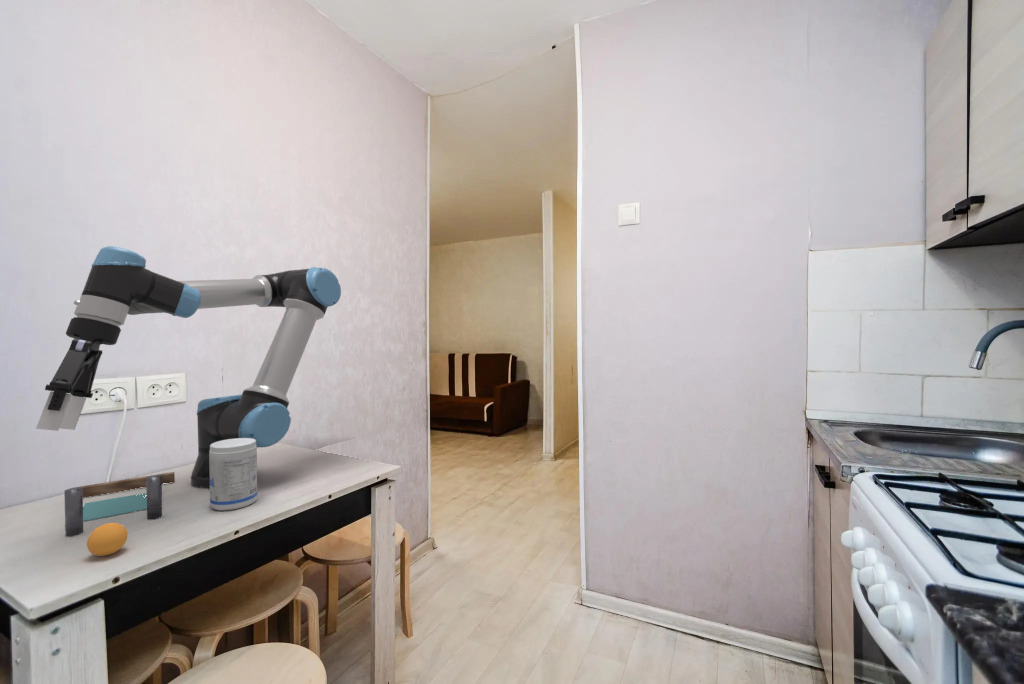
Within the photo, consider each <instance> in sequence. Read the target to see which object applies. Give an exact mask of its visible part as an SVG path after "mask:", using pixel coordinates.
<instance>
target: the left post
mask: <svg viewBox="0 0 1024 684" xmlns="http://www.w3.org/2000/svg"><path fill="white" fill-rule="evenodd" d="M63 493H64V525H65V526H64V527H65V529H64V530H65V532H64V534H65V537H66V538H67V537H74V536H78V535H81V534H82V533H84V522H83V507H84V500H83V499H84V498H83V488H82V487H80V486H75V488H74V487H71V488H66V489H65V490H64V492H63Z"/></svg>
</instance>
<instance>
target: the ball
mask: <svg viewBox="0 0 1024 684" xmlns="http://www.w3.org/2000/svg"><path fill="white" fill-rule="evenodd" d="M128 535H129V533H128V530H127V528H126V527H125V526H124V525H123V524H121V523H118V522H108V523H104V524H102V525H99V526H98V527H96V528H94V529H93V530H92V531H91V533H90V534H89V535H88V537H87V542H86V548H87V550H88V552H90V553H91V554H92V555H95V556H99V557H105V556H109V555H112V554H114V553H116V552H118V551H119V550H121V549H122V547H124V545H125V544H126V542H127V540H128Z"/></svg>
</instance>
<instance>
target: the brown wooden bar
mask: <svg viewBox="0 0 1024 684" xmlns="http://www.w3.org/2000/svg"><path fill="white" fill-rule="evenodd" d="M152 475H153V474H152ZM152 475H150V476H152ZM156 475H161V479H162V484H163V483H170V482H176V481H175V479H176V478H175V471H170V472H165V473H159V474H156ZM148 476H149V475H146V476H145V475H144V476H138V477H134V478H132V477H131V478H125V479H121V480H119V479H118V480H113V481H108V482H107V481H105V482H101V483H94V484H88V485H82V486H79V487H82V488H83V497H86V498H90V497H89V496H92V497H95V496H94V495H98V496H102V495H101V494H104V495H108V494H107V493H110V494H114V493H113V492H116V493H120V492H119V491H122V492H125V491H124V490H128V491H131V490H130V489H134V490H136V489H135V488H140V487H146V477H148ZM170 484H171V483H170ZM75 487H76V486H75ZM75 487H73V488H75ZM140 489H141V488H140Z"/></svg>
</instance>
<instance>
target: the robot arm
mask: <svg viewBox="0 0 1024 684" xmlns="http://www.w3.org/2000/svg"><path fill="white" fill-rule="evenodd" d="M146 263H147V260H146V258H145V257H144V256H143V255H140V254H139V253H137V252H135V251H132V250H131V249H127V248H124V247H117V246H114V245H113V246H111V245H109V246H105V247H104V246H103V247H102V248H100V250H99V252H98V254H97V255H96V256H95V259H94V261H93V263H91V269H90V271H89V273H88V276H87V278H86V282H85V285H84V288H83V290H82V292H81V294H80V298H79V300H78V299H76V300H74V301H73V304H74V305H76V307H75V310H74V312H73V314H74V317H72V318H71V319H70V321H69V324H68V327H67V328H66V331H65V335H66V336H67V337H69V338H72V340H71V343H70V345H69V348H68V350H67V352H66V354H65V356H64V358H63V359H62V361H61V363H60V364H59V367H58V369H57V370H56V372H55V373H54V376H53V377H52V380H51V381H50V382H49V384H46V385H45V388H44V390H45V391H48V392H49V395H48V397H47V399H46V402H45V405H44V406H43V409H42V413H41V415H40V417H39V419H38V423H37V425H36V427H35V429H37V430H44V431H45V430H46V431H55V432H58V431H59V430H60V429H61V430H62V429H64V430H73V431H75V430H76V427H77V424H78V423H79V419H80V416H81V414H82V410H83V409H84V406H85V402H86V400H87V398H89V399H92V398H93V395H94V393H93V392H92V388H93V386H94V381H95V378H96V374H97V370H98V367H99V362H100V360H101V357H102V355H103V350H101V349H100V346H101V345H106V346H115V345H116V344H117V342H118V339H119V336H120V334H121V331H122V329H121V327H120V326H123V325H124V324H125V321H126V319H127V316H128V315H130V316H136V315H144V314H162V313H163V314H164V313H165V314H169V315H172V316H173V317H179V318H182V319H187V318H191V317H192V316H193V315H194V314H196V312H197V311H198V310H201V309H202V310H204V309H205V310H206V309H215V308H216V309H217V308H226V307H227V308H228V307H229V308H230V307H238V306H239V307H241V306H250V305H251V306H252V305H253V306H254V305H256V306H257V307H259V308H269V307H270V308H272V307H275V308H276V307H279V308H285V311H284V314H283V316H282V319H281V320H280V323H279V326H278V327H277V330H276V332H275V335H274V336H273V339H272V341H271V344H270V345H269V348H268V350H267V353H266V355H265V357H264V359H263V362H262V364H261V366H260V368H259V371H258V373H257V375H256V378H255V380H254V382H253V383H252V385H251V386H249V387H247V388H245V389H243V391H242V392H241V394H235V395H227V396H220V397H214V398H213V397H212V398H204V399H202V400H200V401H199V402H198V403H197V411H196V416H197V443H198V445H197V446H198V447H197V448H198V452H197V453H198V454H197V457H196V461H195V462H194V466H193V469H192V471H191V475H190V486H192V485H193V486H192V487H195V486H196V488H210V473H209V453H210V452H209V451H210V445H211V444H212V443H215V442H218V441H222V440H227V439H235V438H252V439H255V440H256V445H257V448H268V447H271V446H274V445H275V444H277V443H279V442H280V441H281V440H282V439H283V438H284V437H285V436H286V434H287V433H288V431H289V429H290V427H291V422H292V421H291V419H292V418H291V416H290V414H291V413H290V411H289V410H288V407H289V406H290V401H289V399H288V396H287V394H288V391H289V389H290V387H291V384H292V382H293V379H294V376H295V374H296V372H297V369H298V366H299V364H300V362H301V359H302V357H303V354H304V352H305V350H306V347H307V345H308V342H309V340H310V338H311V337H310V336H311V334H312V332H313V330H314V327H315V325H316V322H317V321H318V320H321V319H324V317H325V314H326V313H327V309H328V308H330V307H333V306H335V305H336V304H337V303H338V302H339V301H340V298H341V294H342V289H341V284H340V282H339V279H338V277H337V276H336V274H335V273H334V272H333V271H331V270H330V269H328V268H326V267H316V266H315V267H313V266H312V267H310V268H305V269H304V268H303V269H302V268H301V269H292V270H285V271H280V272H276V273H270V274H257V275H255V276H253V278H239V279H237V278H236V279H235V278H233V279H230V278H229V279H205V280H201V279H200V280H197V279H196V280H175V279H173V278H170V277H168V276H165V275H162V274H159V273H156V272H154V271H151V270H149V269H147V268H146Z"/></svg>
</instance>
